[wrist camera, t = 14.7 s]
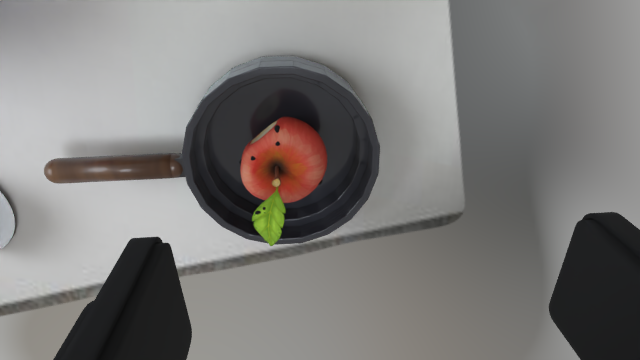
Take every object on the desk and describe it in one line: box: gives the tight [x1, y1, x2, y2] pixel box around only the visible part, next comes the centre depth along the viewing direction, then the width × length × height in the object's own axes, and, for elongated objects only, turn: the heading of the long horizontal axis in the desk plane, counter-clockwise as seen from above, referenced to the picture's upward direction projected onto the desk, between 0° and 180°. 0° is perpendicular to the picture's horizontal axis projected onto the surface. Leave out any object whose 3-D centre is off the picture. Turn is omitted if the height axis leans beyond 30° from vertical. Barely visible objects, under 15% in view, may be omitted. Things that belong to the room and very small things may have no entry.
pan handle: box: [44, 153, 186, 183], centre depth 33 cm, size 12×2×2 cm, turn 91°
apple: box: [239, 117, 327, 246], centre depth 32 cm, size 8×7×10 cm
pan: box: [182, 56, 380, 244], centre depth 35 cm, size 16×16×4 cm
